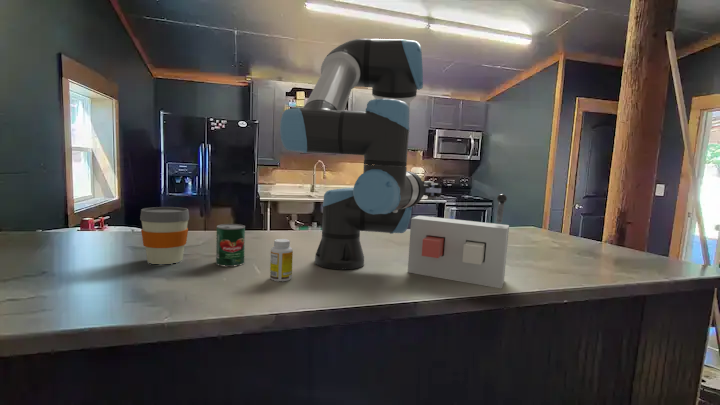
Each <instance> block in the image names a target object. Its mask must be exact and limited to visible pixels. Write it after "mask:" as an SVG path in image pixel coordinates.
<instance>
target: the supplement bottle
mask: <svg viewBox="0 0 720 405" xmlns="http://www.w3.org/2000/svg"><path fill="white" fill-rule="evenodd" d="M293 252H294V251H293V248H292V247H291V240H289V239H287V238H277V239H274V240H273V247H271V249H270V265H269V268H270V269H269V276H270V277H269V278H270V279H271V281H273V280H274V282H279V281H282V282H288V281H290V280H291V279H292V278H293V254H294V253H293Z"/></svg>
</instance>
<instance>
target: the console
mask: <svg viewBox="0 0 720 405" xmlns="http://www.w3.org/2000/svg"><path fill="white" fill-rule="evenodd" d="M409 229H410V232H409V233H410V234H409V243H408V244H409V246H408V260H407V261H408V262H407V273H410V274H416V275H422V276H426V277H427V276H428V277H433V278H439V279H445V280H450V281H455V282H456V281H457V282H463V283H466V284H467V283H468V284H473V285H479V286H486V287H491V288H496V289H502V288H503V285H504V283H505V276H506V275H505V274H506V266H507V265H506V264H507V254H508V253H507V252H508V240H509V233H510V232H509V231H510V224H502V223H500V224H498V223H493V222H483V221H482V222H481V221H475V220H474V221H473V220H464V219H457V218H456V219H454V218H448V217H447V218H446V217H437V216H427V215H417V216H412V217H410V228H409ZM428 236H432V237H440V238H445V239H444V252H443V255H442V256H440V257H439V258H433V257H426V256H422V244H423V239H424V238H426V237H428ZM467 241H471V242H479V243H485V251H484V260H483V262H482V263H481V265H479V264H473V263H466V262H462V261H463V249H464V244H465V243H466V242H467Z"/></svg>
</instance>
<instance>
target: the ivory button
mask: <svg viewBox="0 0 720 405" xmlns="http://www.w3.org/2000/svg"><path fill="white" fill-rule="evenodd" d="M484 251H485V243H479V242H471V241H467V242H466V243H465V244H464V249H463V261H462V262H466V263H473V264H479V265H481V263H482V262H483V260H484Z"/></svg>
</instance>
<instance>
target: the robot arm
mask: <svg viewBox="0 0 720 405" xmlns="http://www.w3.org/2000/svg"><path fill="white" fill-rule="evenodd" d="M423 82H424V71H423V54H422V46H421V44H420V42H418V41H416V40H410V39H403V38H401V39H400V38H399V39H397V38H396V39H395V38H394V39H391V38H389V39H385V38H384V39H383V38H382V39H381V38H380V39H379V38H358V39H357V38H356V39H352V40H349V41H347V42H344V43H341V44H340V45H338V46H337V47H335V48H334V49H332V50H331V51H329V53H327V55H326V57H325V58H324V59H323V61H322V64H321V66H320V76H319V78H318V80H317V81H316V84H315V86H314V87H313V89H312V91H311V93H310V95H309V97H308V99H307V100H306V101H305V102H306V103H305V104H304V106H303V108H301V107H296V108H287V109H285V110H283V112H282V114H281V119H280V125H279V132H280V140H281V143H282V146H283V147H284V149H286V150H287V151H289V152H298V153H299V152H301V153H303V154H307V153H314V154H336V155H337V154H339V155H357V156H363V171H362V172H363V173H361V174H360V175H359V176H358V178H357V179H356V181H355V183H354V185H353V187H348V188H347V187H345V188H335V189H334V188H333V189H330V190H326V192H325V193H324V194H323V199H322V200H323V201H322V202H323V203H322V221H321V222H322V223H321V225H322V226H321V238H320V241H319V245H318V247H317V250H316V252H315V256H314V263H315V265H316V266H318V267H320V268H325V269H330V270H331V269H332V270H354V269H355V270H356V269H359V268H361V267H364V265H365V254H364V251H363V248H362V245H361V238H360V237H361V236H360V235H361V232H372V233H382V234H384V233H385V234H404V233H405V232H406V231H407V229H408V228H409V226H410V225H409V224H410V222H411V218H412V216H411V215H412V209H413V207H415V206H416V205H418V204H419V203H420V202H421V200H422V199H423V197H431V196H433V197H436V198H440V197H442V184H440V183H438V182H434V181H430V180H426V181H424V180H422V178H421V177H420V176H419V175H418V174H416V173H415V172H413V171H409V170H408V166H407V165H408V164H407V162H408V149H409V137H410V107H411V102H412V101H413V100H414V99H415V98H417V94H418V93H417V91H420V90H422V89H423V87H424V83H423ZM357 87H358V88H359V87H360V88H361V87H362V88H372V90H371V95H372V96H373V98H374V99H371V100H369V101H368V102H367V103H366V108H365V110H345V109H346V106H347V104H348V100H349V97H350V95H351V92H352V90H353V89H354V88H357Z"/></svg>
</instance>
